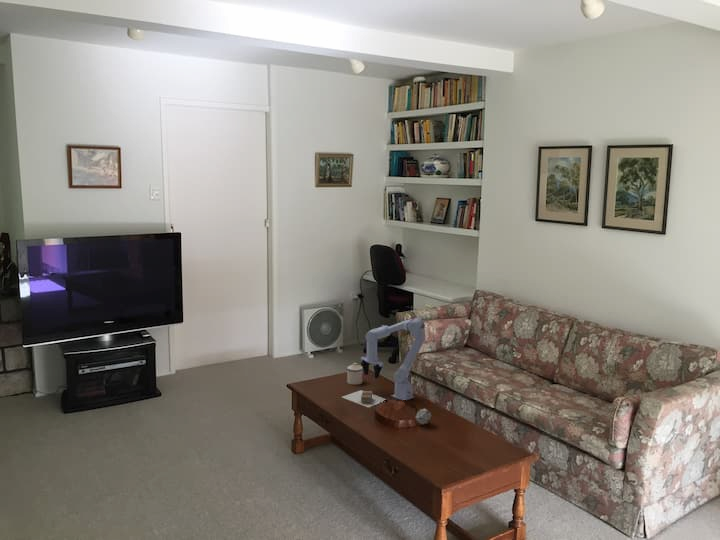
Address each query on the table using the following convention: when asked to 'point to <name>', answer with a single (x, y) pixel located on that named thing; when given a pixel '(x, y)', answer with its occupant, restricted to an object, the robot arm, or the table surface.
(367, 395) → the brown rectangular block
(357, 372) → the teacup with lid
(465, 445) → the table surface
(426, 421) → the grey rock
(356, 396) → the grey mat
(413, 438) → the table surface
